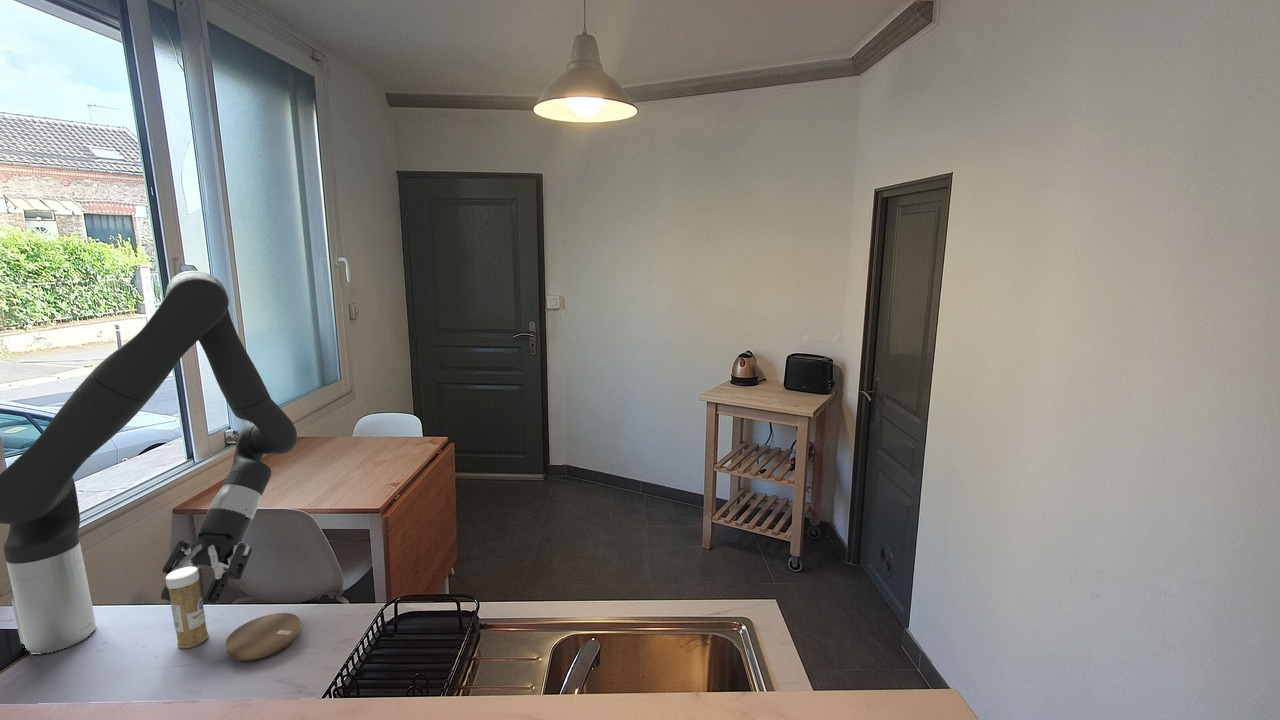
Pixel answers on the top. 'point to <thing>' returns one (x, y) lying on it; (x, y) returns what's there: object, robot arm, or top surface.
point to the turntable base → (266, 656)
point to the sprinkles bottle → (187, 606)
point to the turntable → (263, 636)
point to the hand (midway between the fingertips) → (187, 601)
